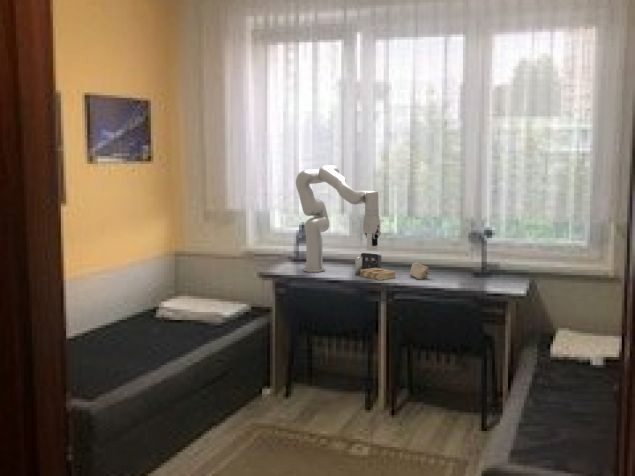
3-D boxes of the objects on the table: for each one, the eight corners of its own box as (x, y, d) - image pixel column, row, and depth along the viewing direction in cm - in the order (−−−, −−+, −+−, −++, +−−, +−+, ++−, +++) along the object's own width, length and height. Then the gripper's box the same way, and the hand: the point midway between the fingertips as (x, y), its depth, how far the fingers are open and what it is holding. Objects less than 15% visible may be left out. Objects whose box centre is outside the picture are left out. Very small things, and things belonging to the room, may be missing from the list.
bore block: (360, 275, 391) (360, 269, 391) (375, 273, 399) (376, 267, 398) (379, 280, 379) (379, 273, 378) (395, 277, 386) (395, 271, 386)
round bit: (353, 273, 397) (354, 256, 396) (359, 273, 400) (359, 256, 398) (358, 274, 394) (358, 257, 393) (363, 274, 397) (363, 257, 395)
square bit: (367, 250, 387) (366, 232, 386) (372, 249, 389) (372, 231, 388) (371, 250, 384) (371, 233, 383) (377, 250, 386) (377, 232, 385)
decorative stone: (415, 274, 395) (415, 260, 393) (431, 279, 382) (431, 264, 381) (403, 276, 391) (403, 262, 390) (419, 280, 378) (419, 265, 377)
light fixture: (385, 270, 412) (386, 252, 411) (376, 272, 401) (377, 254, 400) (369, 269, 417) (369, 251, 416) (359, 271, 406) (360, 253, 405)
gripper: (357, 212, 389) (357, 244, 391) (376, 214, 375) (377, 247, 378) (367, 211, 393) (367, 243, 395) (386, 213, 380) (387, 246, 382)
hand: (372, 245), depth 386 cm, fingers closed on square bit, 4 cm apart
